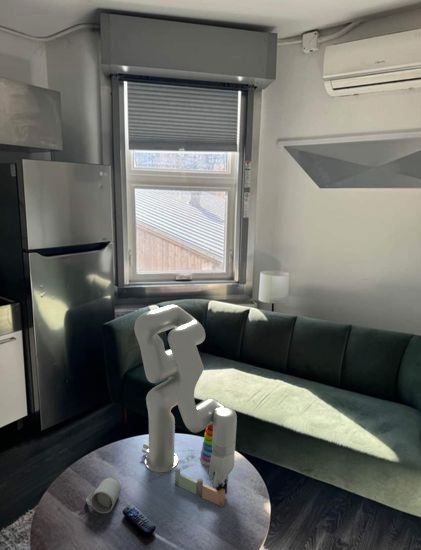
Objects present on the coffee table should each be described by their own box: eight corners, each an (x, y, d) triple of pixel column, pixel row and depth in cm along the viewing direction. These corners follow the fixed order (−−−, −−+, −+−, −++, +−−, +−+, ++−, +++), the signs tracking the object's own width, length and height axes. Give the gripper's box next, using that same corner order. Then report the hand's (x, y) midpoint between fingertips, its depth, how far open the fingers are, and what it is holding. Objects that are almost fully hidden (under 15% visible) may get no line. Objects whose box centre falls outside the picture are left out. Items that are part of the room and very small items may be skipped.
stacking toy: (218, 469, 149) (220, 424, 145) (197, 465, 151) (199, 421, 146) (222, 455, 157) (224, 412, 152) (202, 452, 158) (204, 409, 154)
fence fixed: (173, 484, 140) (174, 470, 139) (176, 481, 141) (176, 467, 140) (195, 494, 135) (195, 480, 134) (198, 491, 137) (198, 477, 136)
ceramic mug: (122, 495, 135) (121, 476, 133) (113, 515, 127) (112, 494, 125) (92, 492, 136) (91, 472, 135) (81, 510, 128) (80, 490, 127)
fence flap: (196, 495, 135) (196, 480, 134) (198, 491, 137) (199, 477, 136) (222, 508, 130) (223, 493, 129) (225, 504, 132) (226, 489, 131)
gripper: (224, 430, 139) (221, 475, 143) (202, 454, 126) (200, 503, 130) (243, 437, 136) (240, 483, 140) (223, 462, 123) (220, 513, 127)
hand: (221, 493), depth 135 cm, fingers closed
